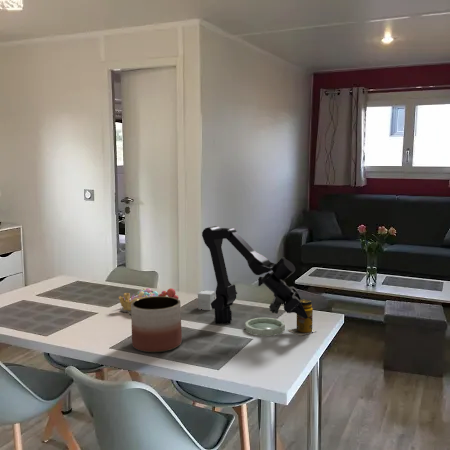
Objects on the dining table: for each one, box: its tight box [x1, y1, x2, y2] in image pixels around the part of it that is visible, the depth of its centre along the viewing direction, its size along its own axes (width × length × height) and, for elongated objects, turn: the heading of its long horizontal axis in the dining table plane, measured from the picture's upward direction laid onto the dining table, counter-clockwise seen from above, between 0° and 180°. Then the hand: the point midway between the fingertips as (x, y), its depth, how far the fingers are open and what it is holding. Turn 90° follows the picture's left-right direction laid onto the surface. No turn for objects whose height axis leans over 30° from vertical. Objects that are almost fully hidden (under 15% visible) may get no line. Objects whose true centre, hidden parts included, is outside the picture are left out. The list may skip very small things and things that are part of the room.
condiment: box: [288, 298, 314, 337], centre depth 192 cm, size 7×8×12 cm
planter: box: [130, 295, 183, 353], centre depth 180 cm, size 18×18×16 cm
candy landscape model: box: [118, 287, 179, 315], centre depth 226 cm, size 25×24×9 cm
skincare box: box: [197, 290, 216, 311], centre depth 225 cm, size 6×6×7 cm
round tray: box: [244, 317, 286, 337], centre depth 196 cm, size 15×15×2 cm
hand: (306, 314), depth 192 cm, fingers open, 9 cm apart
